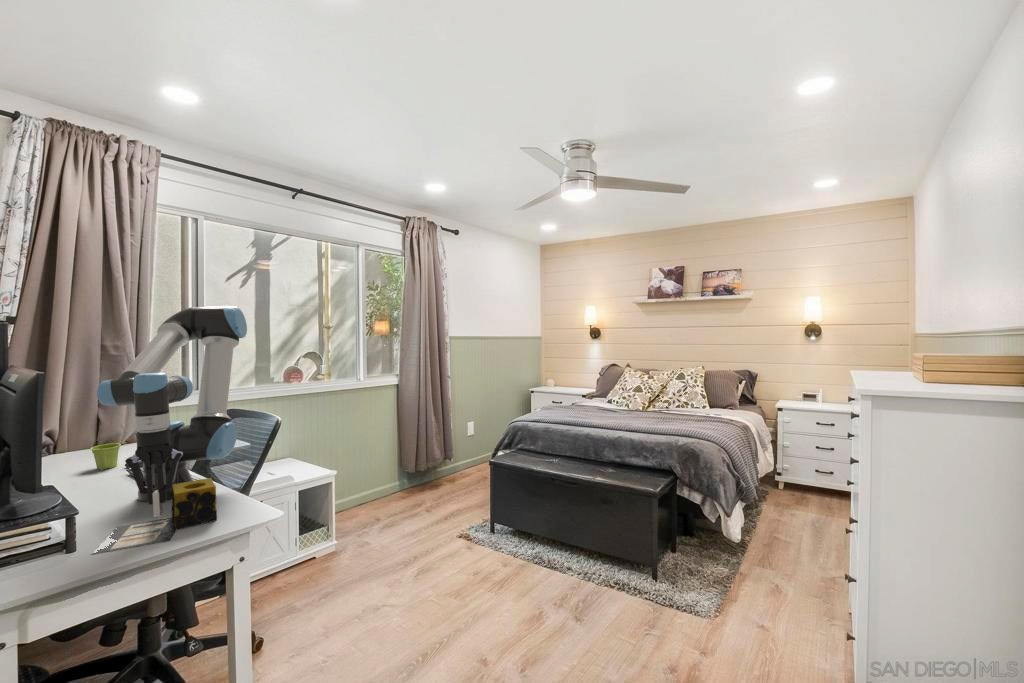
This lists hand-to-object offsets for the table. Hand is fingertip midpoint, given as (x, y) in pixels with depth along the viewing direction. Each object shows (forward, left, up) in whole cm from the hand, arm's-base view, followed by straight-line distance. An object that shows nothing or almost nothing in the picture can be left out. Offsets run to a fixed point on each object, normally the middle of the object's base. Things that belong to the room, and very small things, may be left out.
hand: (158, 514), depth 133 cm
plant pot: (-82, -36, -3) cm, 90 cm away
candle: (0, +8, -3) cm, 9 cm away
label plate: (+4, -3, -3) cm, 6 cm away
